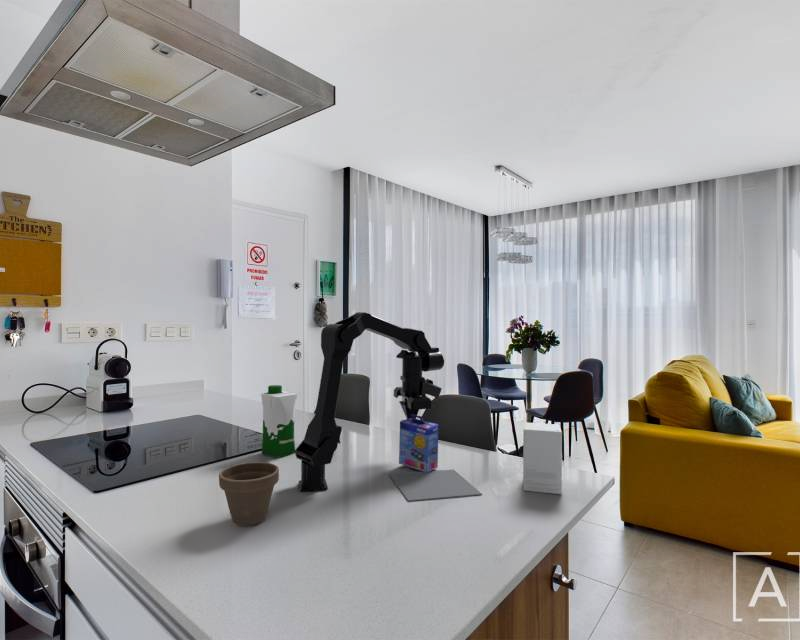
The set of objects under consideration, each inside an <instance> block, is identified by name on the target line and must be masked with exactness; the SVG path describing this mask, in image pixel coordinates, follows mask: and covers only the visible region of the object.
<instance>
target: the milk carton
mask: <svg viewBox="0 0 800 640" xmlns="http://www.w3.org/2000/svg"><path fill="white" fill-rule="evenodd" d="M260 396H261V402H262V403H261V404H262V442H261V443H262V444H261V454H262V455H265V456H269V457H272V458H274V459H275V458H276V459H277V458H278V459H279V458H281V457H285V456H288V455H293V454H295V450H296V443H295V442H296V441H295V409H296V407H295V406H296V401H297V398H298V393H296V392H295V393H293V392H292V391H291V392H290V391H284V390H283V386H282V385H278V384H275V385H274V384H273V385H268V386H267V392H264V393H260Z"/></svg>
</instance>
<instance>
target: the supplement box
mask: <svg viewBox="0 0 800 640" xmlns="http://www.w3.org/2000/svg"><path fill="white" fill-rule="evenodd" d="M522 439H523V444H522V446H523V447H522V449H523V451H522V452H523V454H522V455H523V456H522V457H523V458H522V461H523V462H522V471H523V472H522V474H523V476H522V478H523V479H522V481H523V482H522V484H523V485H522V486H523V487H522V488H523V491H524V492H534V493H535V492H536V493H543V494H544V493H545V494H553V495H554V494H555V495H562V494H563V493H562V491H563V490H562V487H563V485H562V483H563V482H562V481H563V480H562V478H563V469H562V468H563V464H562V463H563V451H562V450H563V431H562V429H561V426H560V424H558V423H557V424H556V423H553V424H552V423H540V422H527V421H525V422H524V425H523V438H522Z"/></svg>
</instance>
